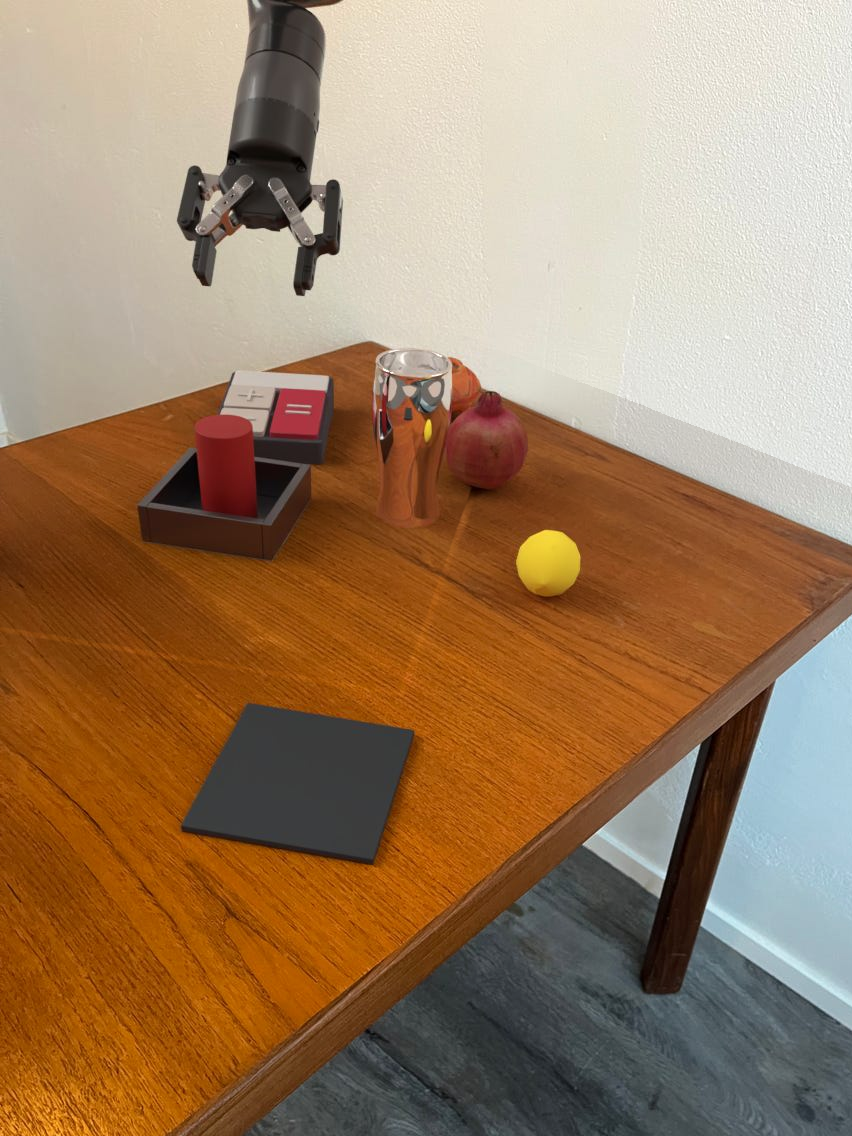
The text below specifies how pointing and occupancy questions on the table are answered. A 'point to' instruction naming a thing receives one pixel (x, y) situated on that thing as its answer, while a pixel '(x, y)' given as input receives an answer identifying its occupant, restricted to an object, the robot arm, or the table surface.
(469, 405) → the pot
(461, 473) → the fruit
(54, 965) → the table surface
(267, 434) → the calculator
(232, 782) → the mat
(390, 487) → the beer glass
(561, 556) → the lemon
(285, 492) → the bin
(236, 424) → the canister
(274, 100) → the robot arm
